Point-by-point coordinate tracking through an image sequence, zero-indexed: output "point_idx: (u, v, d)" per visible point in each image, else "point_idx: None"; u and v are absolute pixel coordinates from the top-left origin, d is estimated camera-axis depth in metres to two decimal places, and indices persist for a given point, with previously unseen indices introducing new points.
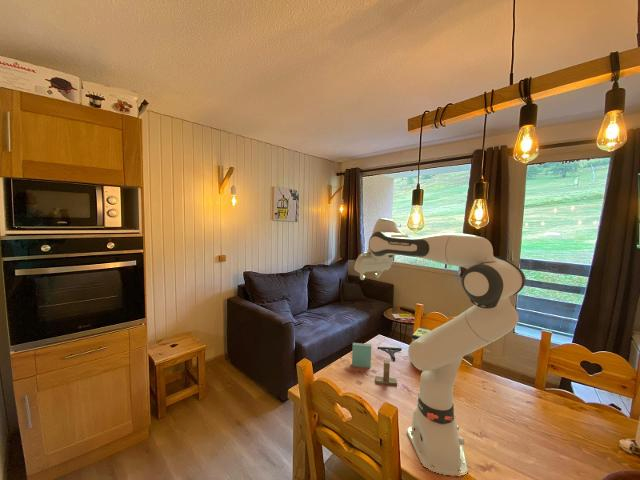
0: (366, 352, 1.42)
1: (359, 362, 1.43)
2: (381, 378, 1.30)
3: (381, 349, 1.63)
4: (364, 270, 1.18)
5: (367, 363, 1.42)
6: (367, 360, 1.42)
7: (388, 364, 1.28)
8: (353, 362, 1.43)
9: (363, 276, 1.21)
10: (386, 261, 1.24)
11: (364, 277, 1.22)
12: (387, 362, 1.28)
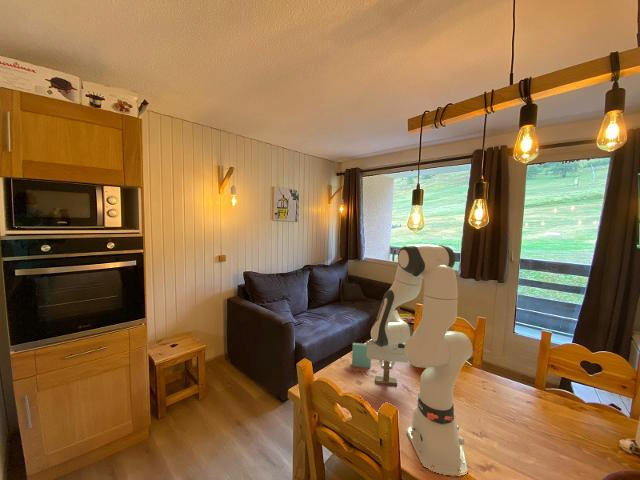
0: None
1: (359, 362, 1.43)
2: (381, 378, 1.30)
3: None
4: (373, 357, 1.28)
5: (367, 363, 1.42)
6: (367, 360, 1.42)
7: (388, 364, 1.28)
8: (353, 362, 1.43)
9: (382, 364, 1.28)
10: (401, 352, 1.26)
11: (383, 366, 1.28)
12: (387, 362, 1.28)
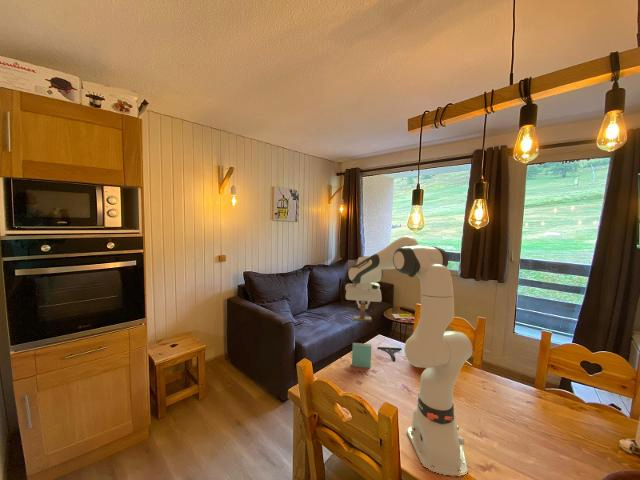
0: (366, 352, 1.42)
1: (359, 362, 1.43)
2: (358, 316, 1.51)
3: (381, 349, 1.63)
4: (351, 298, 1.49)
5: (367, 363, 1.42)
6: (367, 360, 1.42)
7: (364, 303, 1.49)
8: (353, 362, 1.43)
9: (358, 304, 1.49)
10: (374, 293, 1.47)
11: (360, 306, 1.49)
12: (363, 302, 1.49)
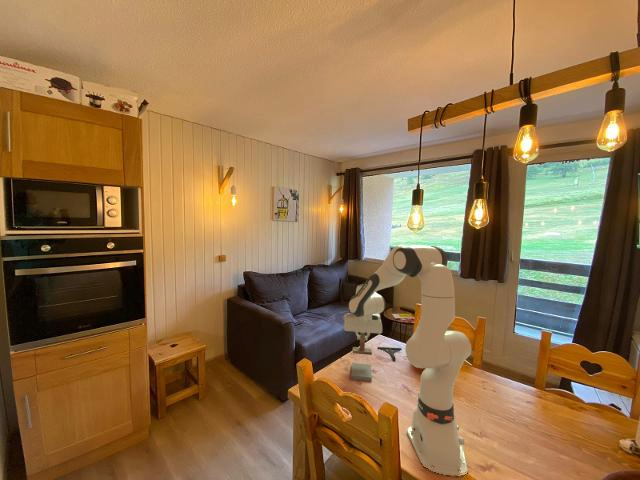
0: None
1: None
2: (357, 348, 1.42)
3: (381, 349, 1.63)
4: (350, 329, 1.39)
5: None
6: None
7: (363, 335, 1.39)
8: None
9: (358, 336, 1.40)
10: (375, 324, 1.38)
11: (359, 337, 1.40)
12: (363, 333, 1.40)
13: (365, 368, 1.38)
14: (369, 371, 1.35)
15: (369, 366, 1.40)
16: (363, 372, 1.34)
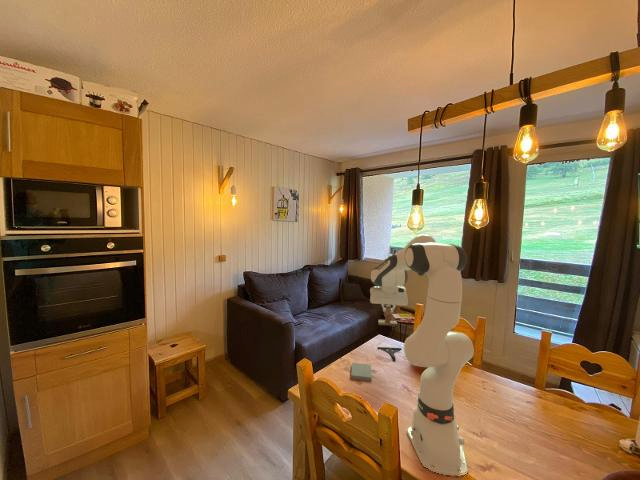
0: None
1: None
2: (383, 320, 1.47)
3: (381, 349, 1.63)
4: (376, 301, 1.45)
5: None
6: None
7: (389, 307, 1.45)
8: None
9: (384, 308, 1.45)
10: (400, 296, 1.43)
11: (385, 309, 1.45)
12: (388, 306, 1.45)
13: (365, 368, 1.38)
14: (369, 371, 1.35)
15: (369, 366, 1.40)
16: (363, 372, 1.35)
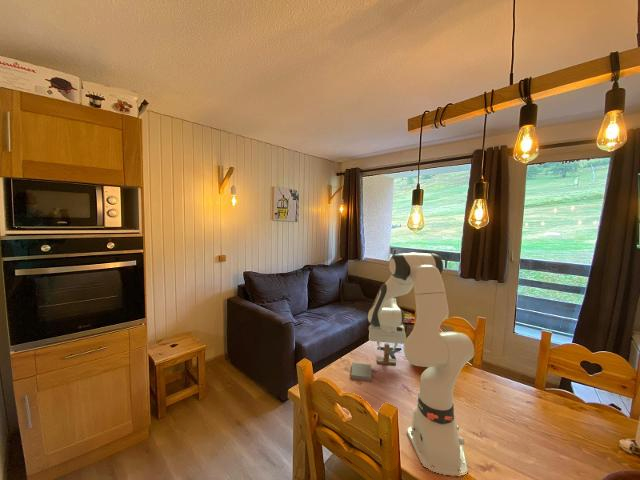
0: None
1: None
2: (382, 359, 1.49)
3: (381, 349, 1.63)
4: (375, 339, 1.46)
5: None
6: None
7: (388, 346, 1.46)
8: None
9: (379, 346, 1.47)
10: (399, 335, 1.45)
11: (380, 347, 1.47)
12: (387, 344, 1.47)
13: (365, 368, 1.38)
14: (369, 371, 1.35)
15: (369, 366, 1.40)
16: (363, 372, 1.35)
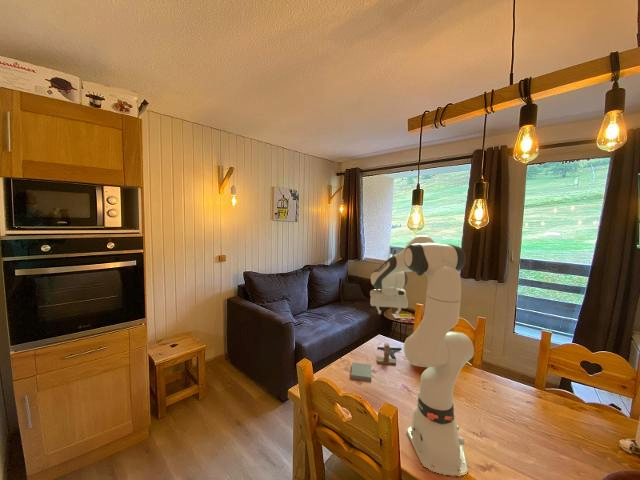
0: None
1: None
2: (382, 359, 1.49)
3: (381, 349, 1.63)
4: (377, 304, 1.45)
5: None
6: None
7: (388, 346, 1.46)
8: None
9: (379, 310, 1.46)
10: (400, 299, 1.43)
11: (380, 312, 1.46)
12: (387, 344, 1.47)
13: (365, 368, 1.39)
14: (369, 371, 1.35)
15: (369, 366, 1.40)
16: (363, 372, 1.35)
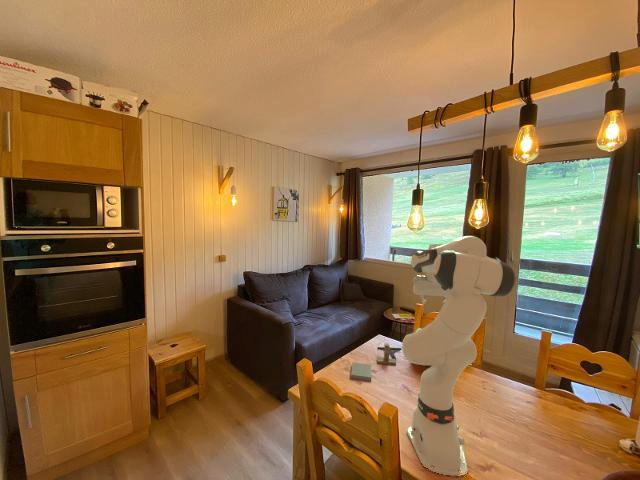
0: None
1: None
2: (382, 359, 1.49)
3: (381, 349, 1.63)
4: (421, 292, 1.28)
5: None
6: None
7: (388, 346, 1.46)
8: None
9: (423, 300, 1.28)
10: None
11: (425, 301, 1.28)
12: (387, 344, 1.47)
13: (365, 367, 1.39)
14: (369, 371, 1.36)
15: (369, 366, 1.40)
16: (363, 371, 1.35)
